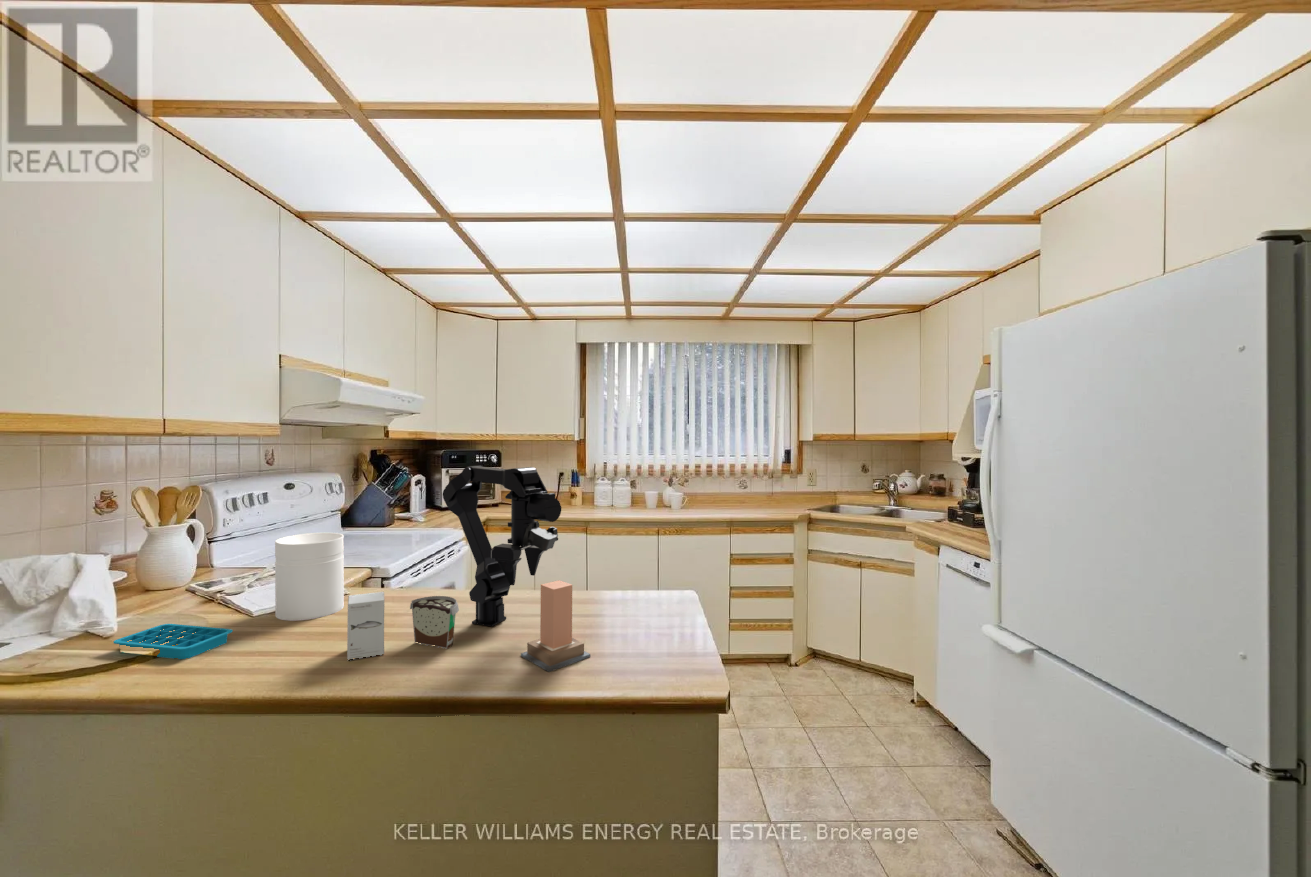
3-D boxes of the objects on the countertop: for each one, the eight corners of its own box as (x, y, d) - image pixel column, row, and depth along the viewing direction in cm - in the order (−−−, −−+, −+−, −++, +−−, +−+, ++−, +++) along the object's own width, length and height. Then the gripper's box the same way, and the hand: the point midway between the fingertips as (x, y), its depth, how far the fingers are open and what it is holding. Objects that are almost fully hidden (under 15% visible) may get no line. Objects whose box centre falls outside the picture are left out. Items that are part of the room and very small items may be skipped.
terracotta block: (540, 642, 122) (540, 584, 121) (558, 636, 125) (559, 580, 125) (553, 648, 118) (553, 589, 118) (571, 642, 122) (572, 584, 121)
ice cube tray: (165, 635, 132) (165, 623, 132) (235, 642, 128) (235, 629, 128) (109, 655, 121) (109, 641, 120) (185, 663, 117) (185, 649, 117)
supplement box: (346, 662, 118) (346, 604, 117) (348, 649, 124) (348, 594, 124) (384, 655, 121) (384, 599, 121) (384, 643, 128) (384, 590, 127)
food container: (469, 640, 130) (470, 598, 130) (452, 650, 125) (452, 606, 124) (428, 633, 134) (428, 593, 134) (409, 642, 129) (409, 600, 128)
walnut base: (520, 655, 122) (520, 642, 122) (561, 642, 129) (561, 629, 129) (548, 672, 114) (548, 657, 114) (590, 656, 122) (590, 642, 122)
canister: (355, 607, 152) (355, 536, 152) (292, 625, 139) (292, 547, 138) (326, 597, 161) (325, 530, 160) (264, 612, 147) (263, 539, 147)
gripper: (530, 526, 124) (530, 594, 124) (569, 514, 141) (569, 573, 142) (489, 523, 127) (489, 589, 128) (532, 511, 145) (532, 569, 145)
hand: (522, 580), depth 136 cm, fingers open, 9 cm apart
